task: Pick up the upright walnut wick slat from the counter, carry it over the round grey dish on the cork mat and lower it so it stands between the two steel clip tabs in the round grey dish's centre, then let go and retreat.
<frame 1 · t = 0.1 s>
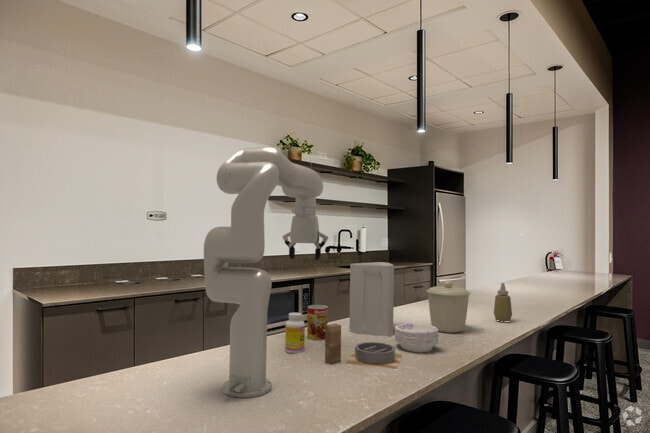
hand: (304, 259, 154), 31 cm above the countertop, tool pointing down, fingers open, 9 cm apart
paper bowls: (416, 350, 149), on the countertop
round grey dish: (375, 352, 136), on the cork mat, point 2 cm above the countertop
canister: (447, 330, 179), on the countertop
supplement bottle: (294, 351, 145), on the countertop
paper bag: (377, 332, 174), on the countertop
clip: (375, 352, 136), in the round grey dish, point 2 cm above the countertop
wick slat: (332, 363, 132), on the countertop
canned food: (317, 338, 163), on the countertop
squeeze bottle: (502, 321, 198), on the countertop
cork mat: (374, 360, 136), on the countertop
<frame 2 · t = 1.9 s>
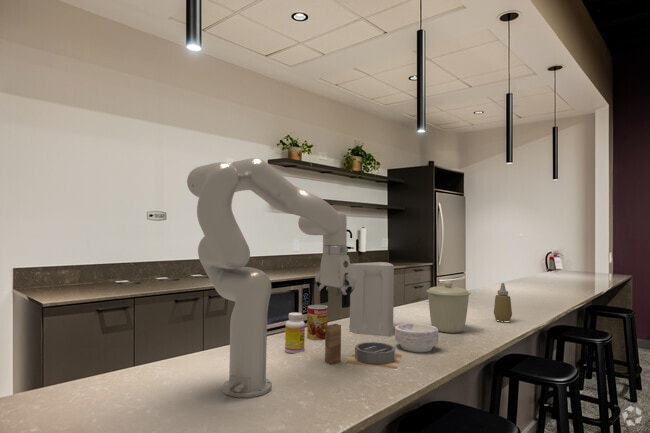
hand: (334, 305, 133), 18 cm above the countertop, tool pointing down, fingers open, 9 cm apart
nothing on the countertop moved.
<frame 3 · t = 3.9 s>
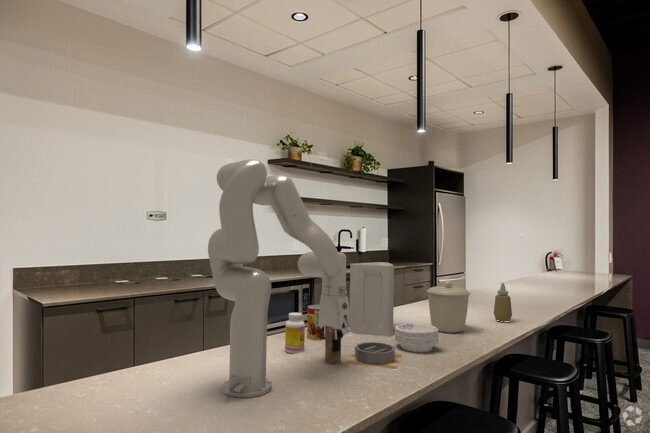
hand: (333, 349, 132), 4 cm above the countertop, tool pointing down, fingers closed on wick slat, 2 cm apart
wick slat: (332, 363, 132), on the countertop, touching gripper
everything else where it was.
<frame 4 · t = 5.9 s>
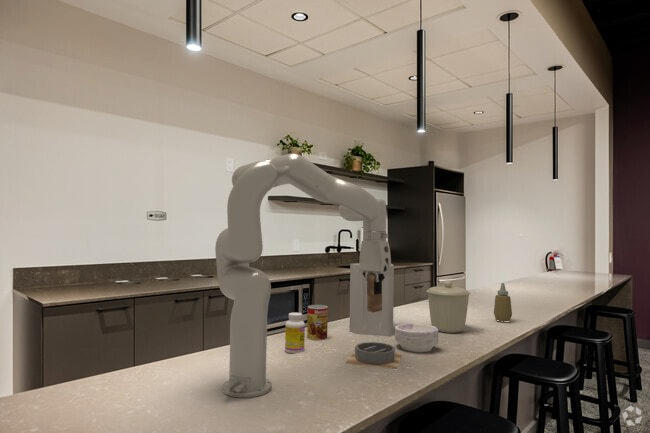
hand: (374, 293, 137), 22 cm above the countertop, tool pointing down, fingers closed on wick slat
wick slat: (374, 310, 137), point 16 cm above the countertop, touching gripper
everything else where it was.
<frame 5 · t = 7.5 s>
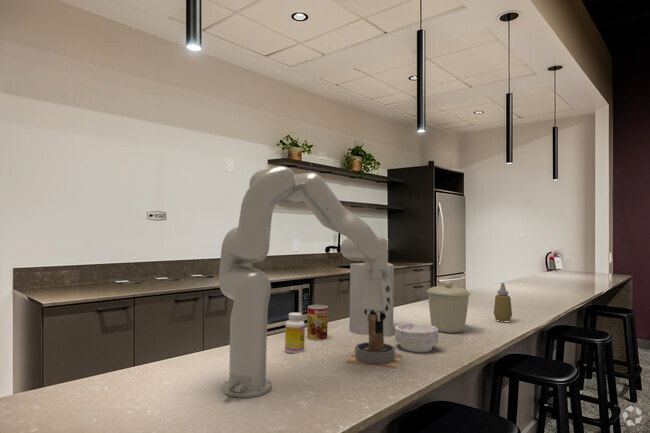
hand: (375, 331, 136), 9 cm above the countertop, tool pointing down, fingers closed on wick slat, 2 cm apart
wick slat: (376, 350, 137), point 3 cm above the countertop, touching gripper
everything else where it was.
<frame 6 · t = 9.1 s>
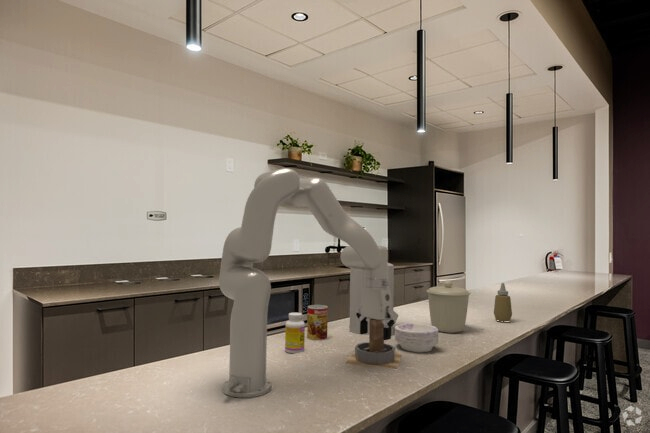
hand: (375, 336, 136), 8 cm above the countertop, tool pointing down, fingers open, 9 cm apart
wick slat: (376, 355, 137), point 1 cm above the countertop, touching clip
everything else where it was.
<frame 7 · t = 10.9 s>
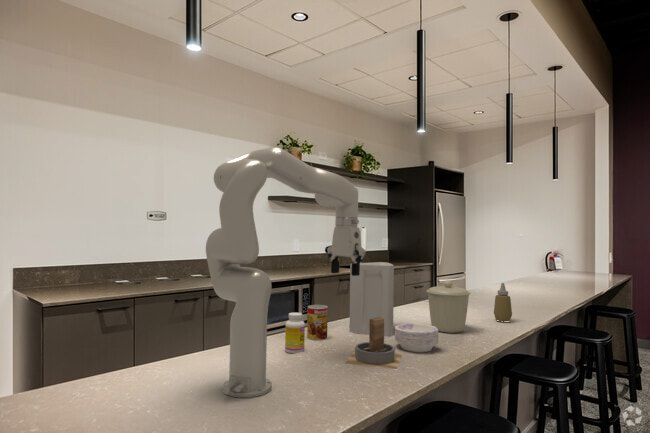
hand: (345, 274, 141), 27 cm above the countertop, tool pointing down, fingers open, 9 cm apart
nothing on the countertop moved.
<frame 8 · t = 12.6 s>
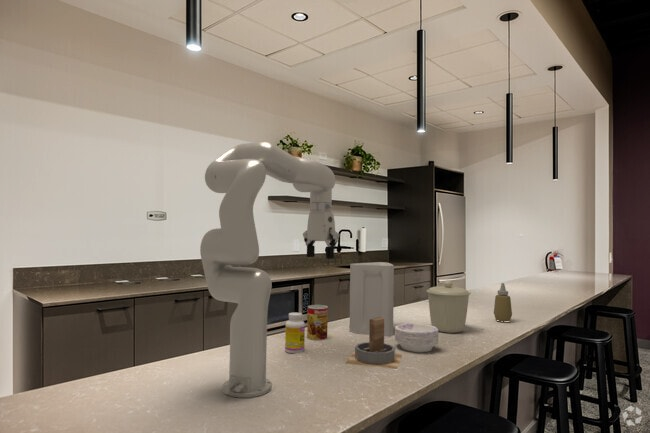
hand: (320, 257, 145), 32 cm above the countertop, tool pointing down, fingers open, 9 cm apart
nothing on the countertop moved.
at the end: wick slat 0.6 cm off-centre on the round grey dish, point 0.6 cm above the round grey dish's base; wick slat tilted 0°; the gripper is holding nothing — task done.
